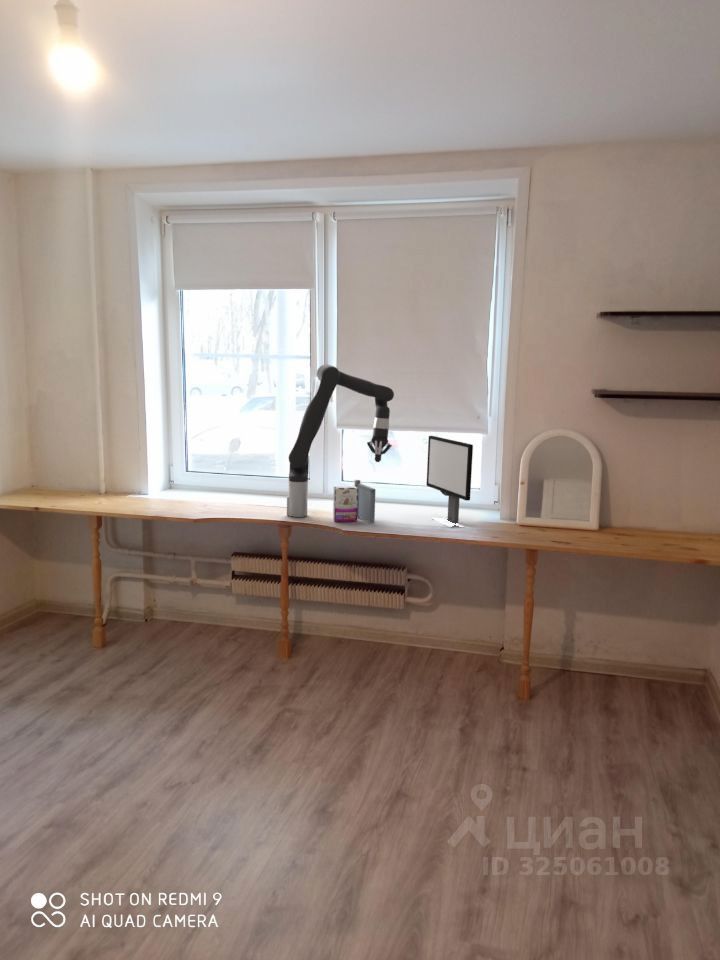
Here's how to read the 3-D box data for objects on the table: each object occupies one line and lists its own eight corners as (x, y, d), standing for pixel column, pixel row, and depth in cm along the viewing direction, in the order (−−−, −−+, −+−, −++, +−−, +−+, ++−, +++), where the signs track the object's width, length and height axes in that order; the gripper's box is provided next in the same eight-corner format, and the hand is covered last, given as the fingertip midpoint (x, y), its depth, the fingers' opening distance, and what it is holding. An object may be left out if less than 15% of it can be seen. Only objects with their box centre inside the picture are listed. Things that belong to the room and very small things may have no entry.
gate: (356, 515, 340) (357, 483, 337) (359, 515, 341) (360, 483, 338) (370, 523, 325) (372, 489, 322) (374, 523, 325) (375, 489, 323)
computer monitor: (421, 514, 352) (424, 435, 346) (436, 513, 355) (439, 435, 348) (460, 533, 314) (465, 444, 308) (476, 532, 317) (481, 444, 311)
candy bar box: (355, 519, 335) (356, 486, 333) (357, 521, 331) (358, 487, 328) (332, 519, 333) (333, 486, 331) (334, 522, 328) (335, 488, 326)
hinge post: (352, 516, 342) (353, 480, 339) (354, 515, 344) (355, 479, 342) (357, 517, 341) (359, 481, 338) (360, 516, 343) (361, 480, 340)
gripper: (366, 426, 344) (362, 460, 346) (391, 428, 340) (387, 464, 342) (370, 425, 351) (367, 460, 353) (395, 428, 347) (392, 463, 349)
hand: (377, 461), depth 348 cm, fingers closed
